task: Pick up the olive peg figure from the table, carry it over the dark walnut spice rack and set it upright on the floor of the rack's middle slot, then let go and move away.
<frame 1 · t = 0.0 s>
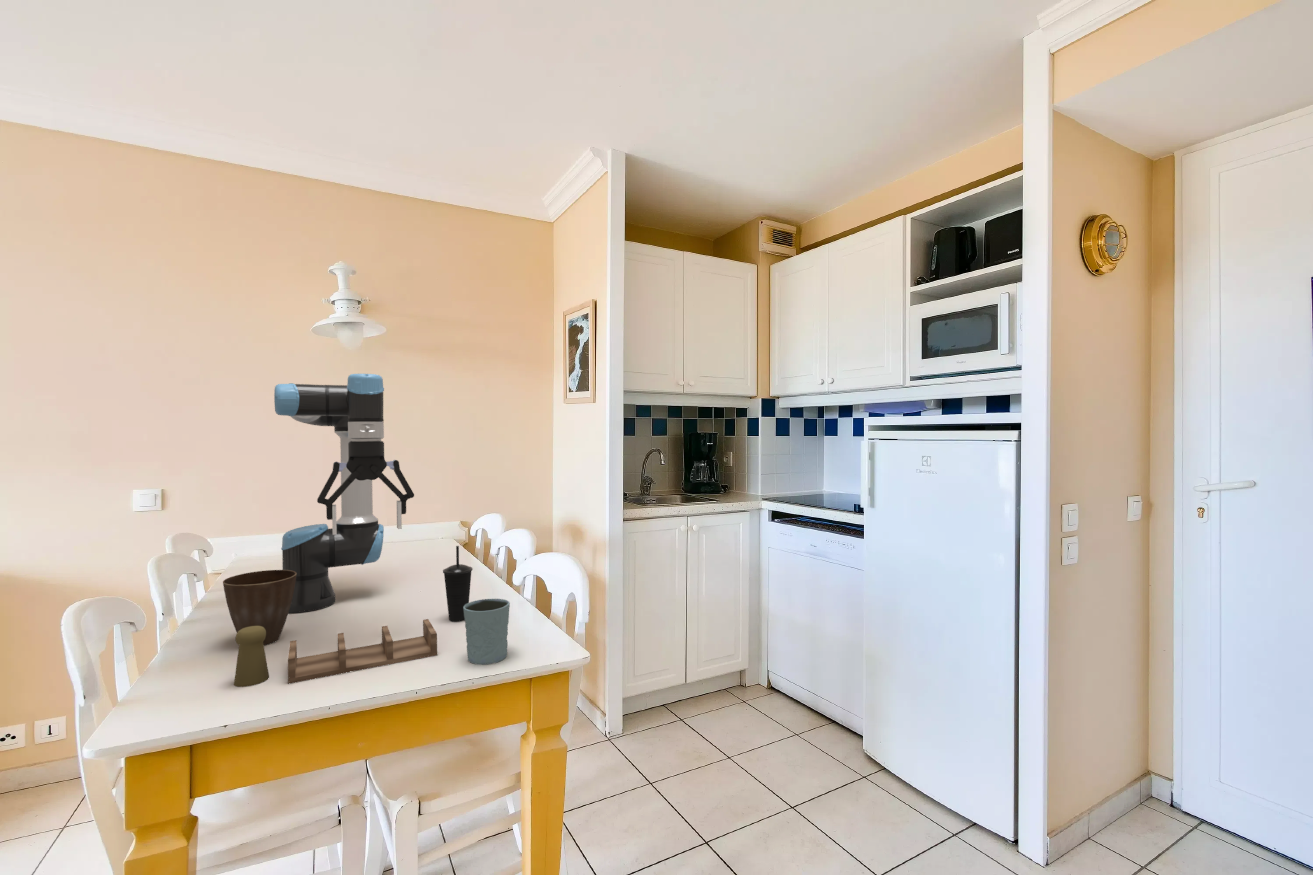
hand: (367, 531, 136), 28 cm above the table, tool pointing down, fingers open, 13 cm apart
drinking glass: (487, 657, 132), on the table
spice rack: (365, 659, 131), on the table
plant pot: (261, 642, 143), on the table
olive peg figure: (251, 681, 120), on the table
drinking cup: (458, 619, 158), on the table
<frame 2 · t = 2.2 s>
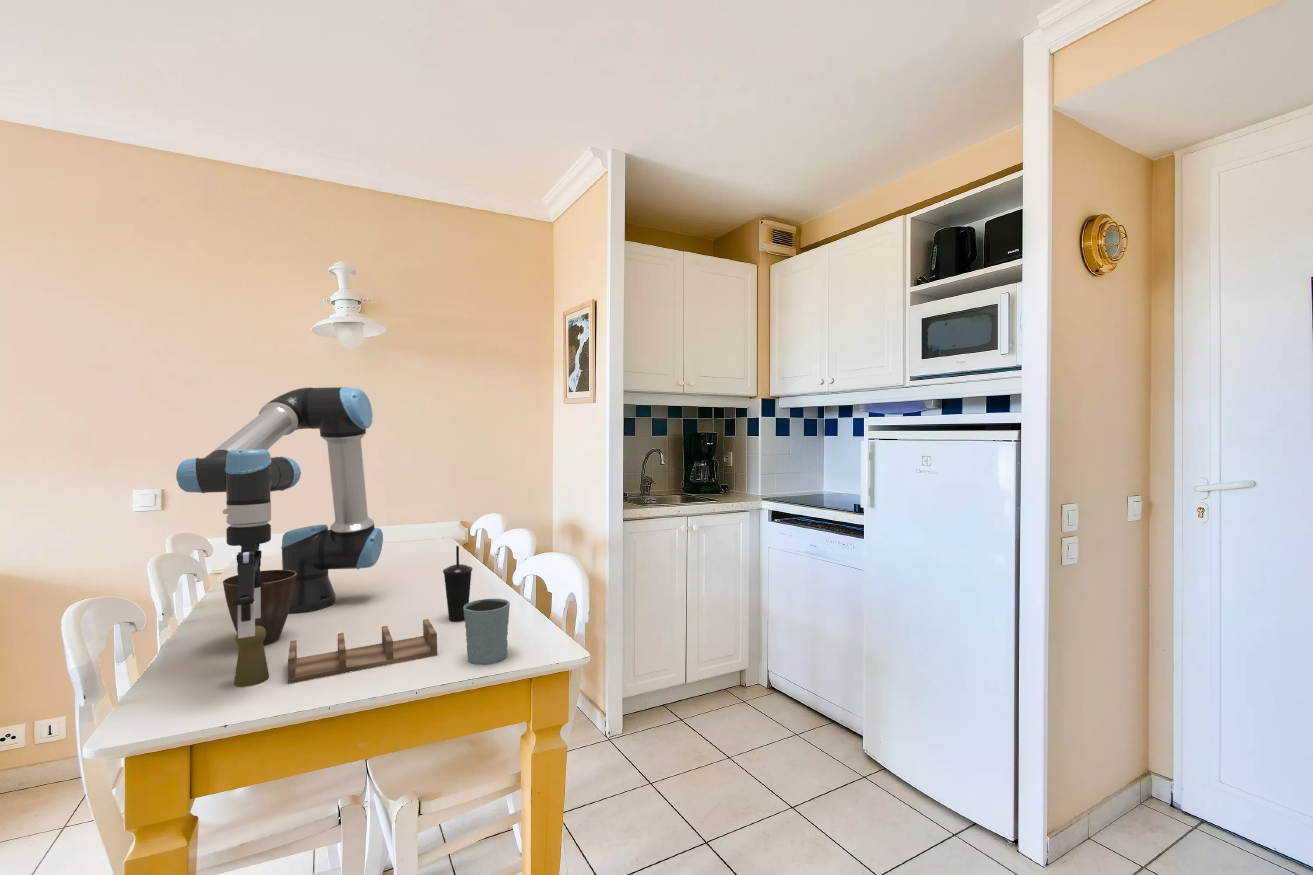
hand: (249, 627, 120), 11 cm above the table, tool pointing down, fingers open, 13 cm apart
nothing on the table moved.
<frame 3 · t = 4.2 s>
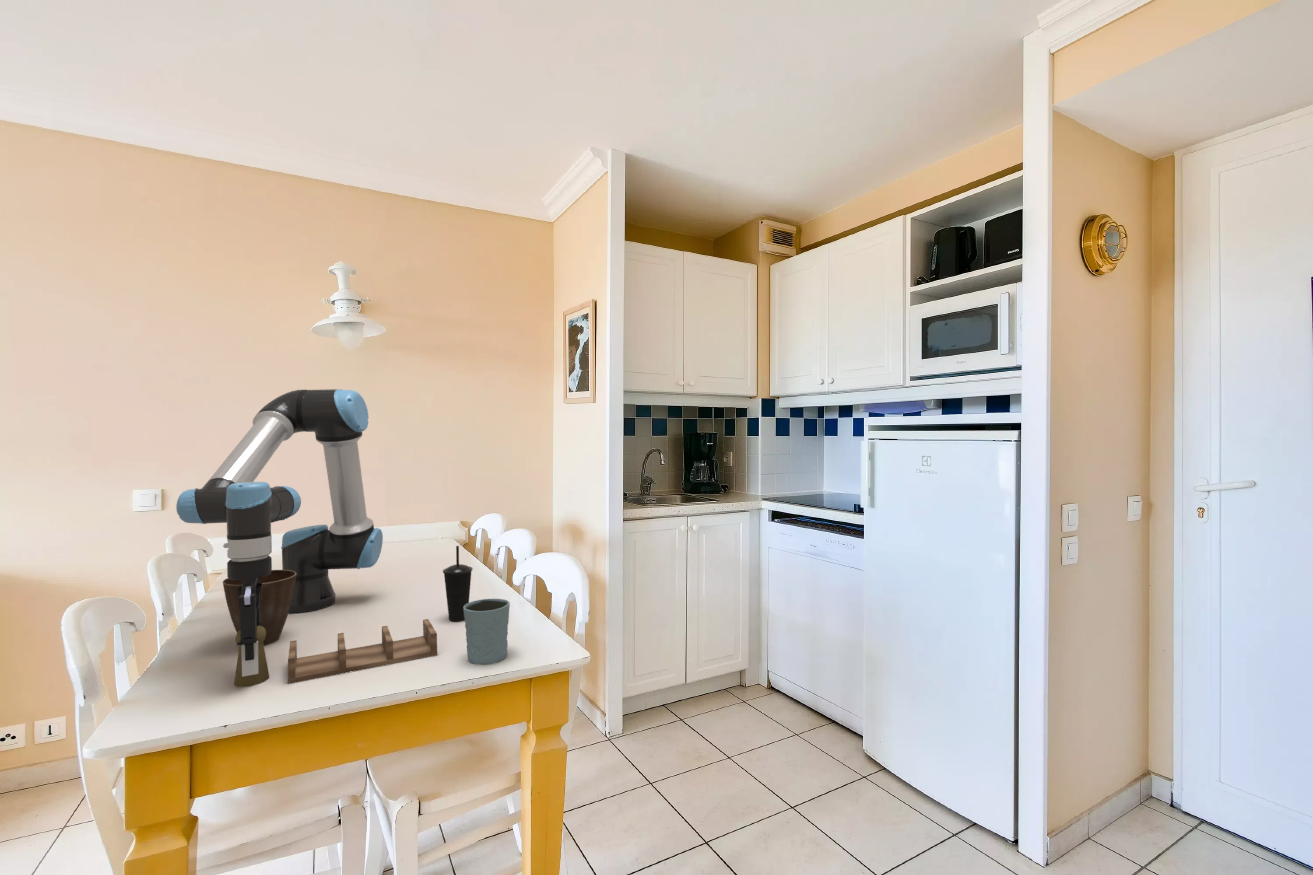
hand: (251, 669, 120), 2 cm above the table, tool pointing down, fingers closed on olive peg figure, 5 cm apart
olive peg figure: (251, 681, 120), on the table, touching gripper
everything else where it was.
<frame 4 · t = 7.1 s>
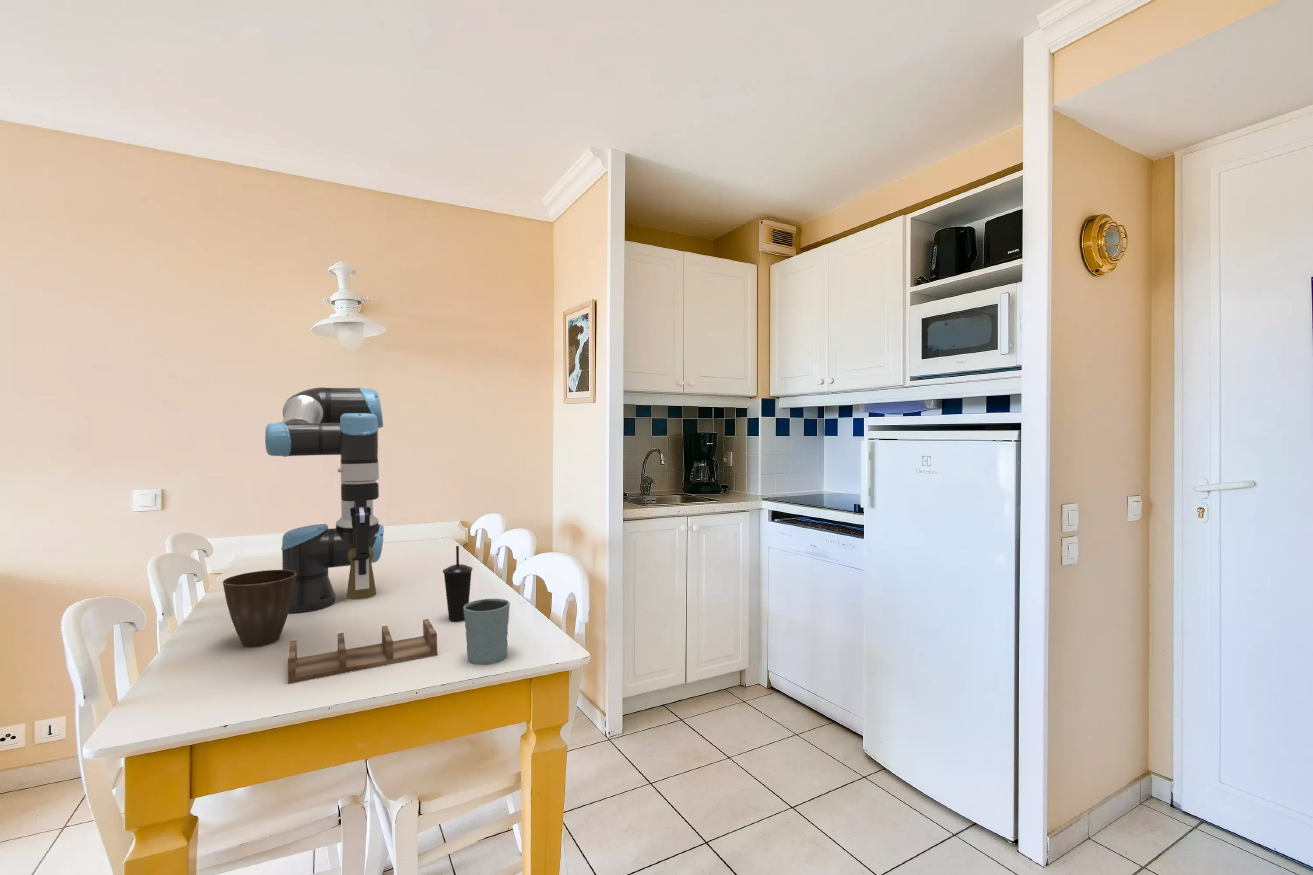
hand: (361, 585, 130), 17 cm above the table, tool pointing down, fingers closed on olive peg figure, 5 cm apart
olive peg figure: (361, 596, 130), point 14 cm above the table, touching gripper
everything else where it was.
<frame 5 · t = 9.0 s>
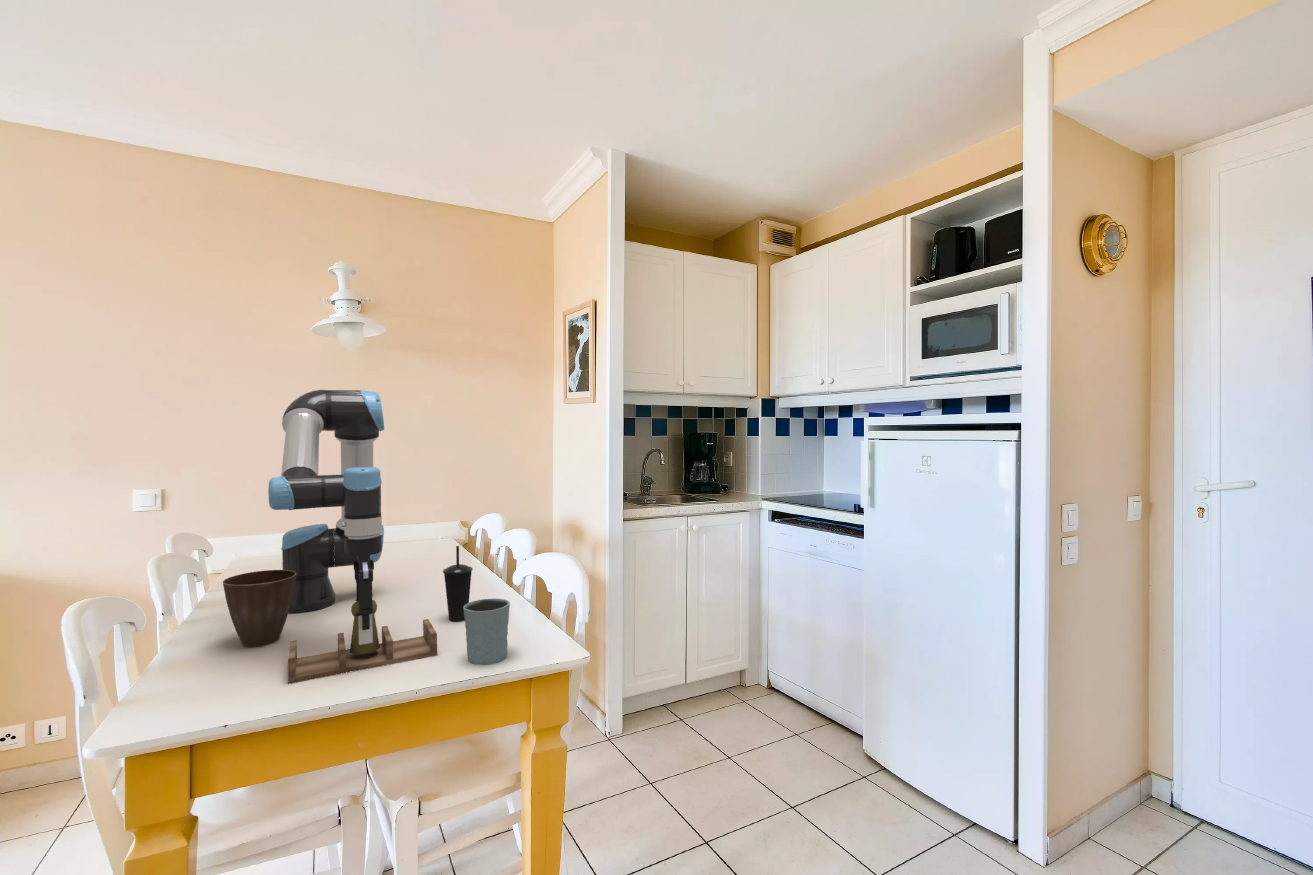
hand: (364, 639, 131), 5 cm above the table, tool pointing down, fingers closed on olive peg figure, 5 cm apart
olive peg figure: (364, 650, 131), point 2 cm above the table, touching gripper
everything else where it was.
when the fingers open (3 cm above the table, at t = 10.2 s): olive peg figure stays where it is, resting on spice rack.
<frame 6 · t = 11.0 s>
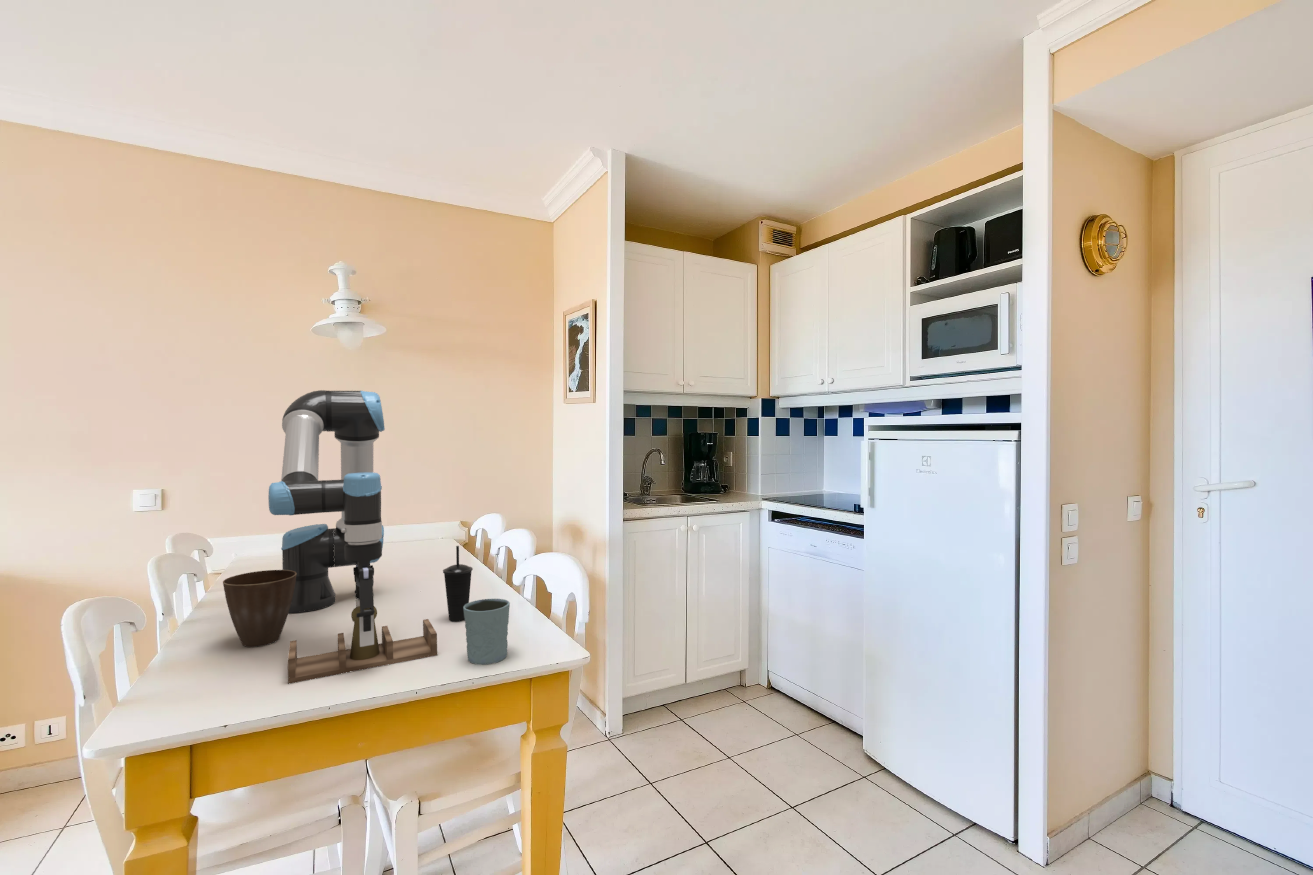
hand: (364, 635, 131), 5 cm above the table, tool pointing down, fingers open, 13 cm apart
olive peg figure: (364, 655, 131), point 1 cm above the table, touching spice rack
everything else where it was.
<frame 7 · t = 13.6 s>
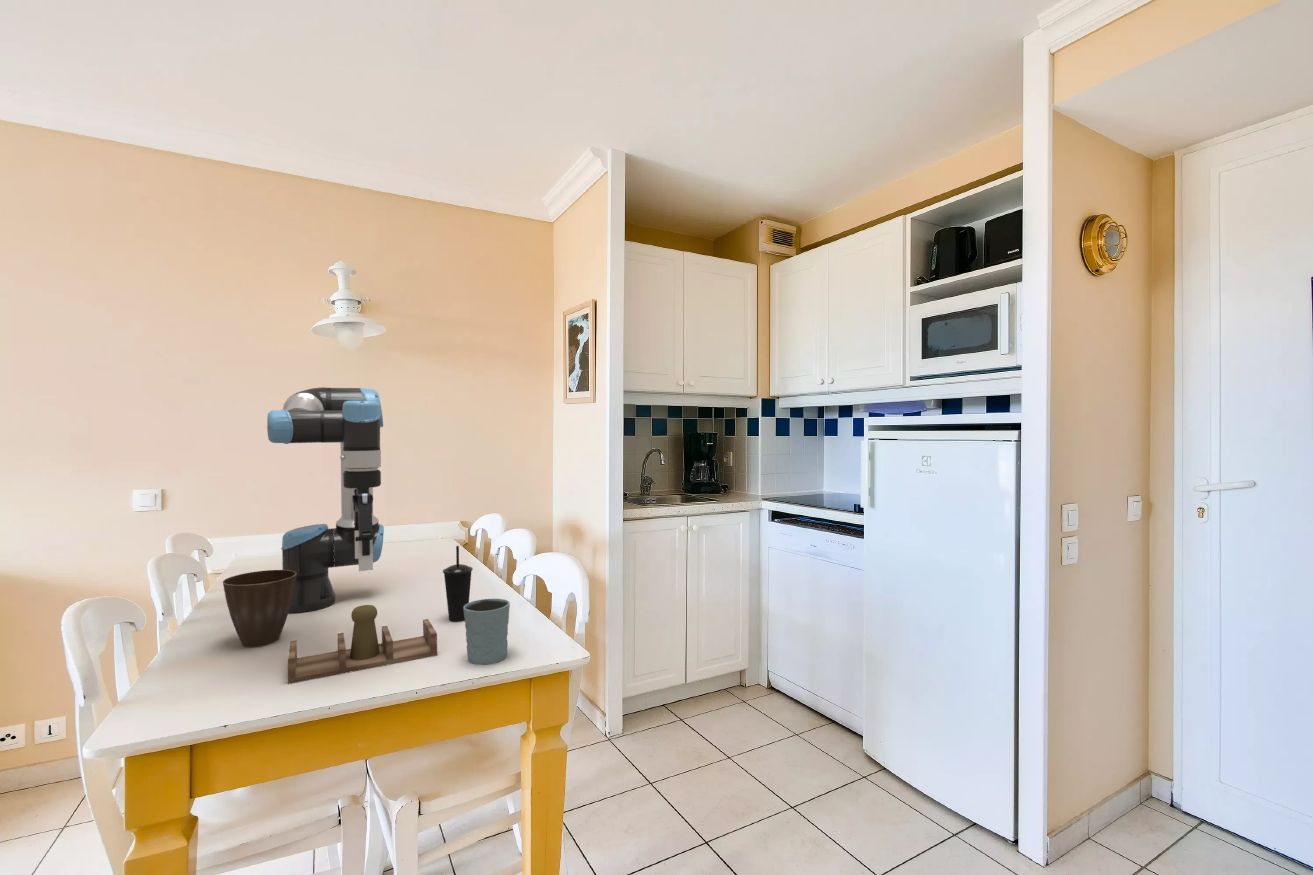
hand: (363, 563, 131), 22 cm above the table, tool pointing down, fingers open, 13 cm apart
nothing on the table moved.
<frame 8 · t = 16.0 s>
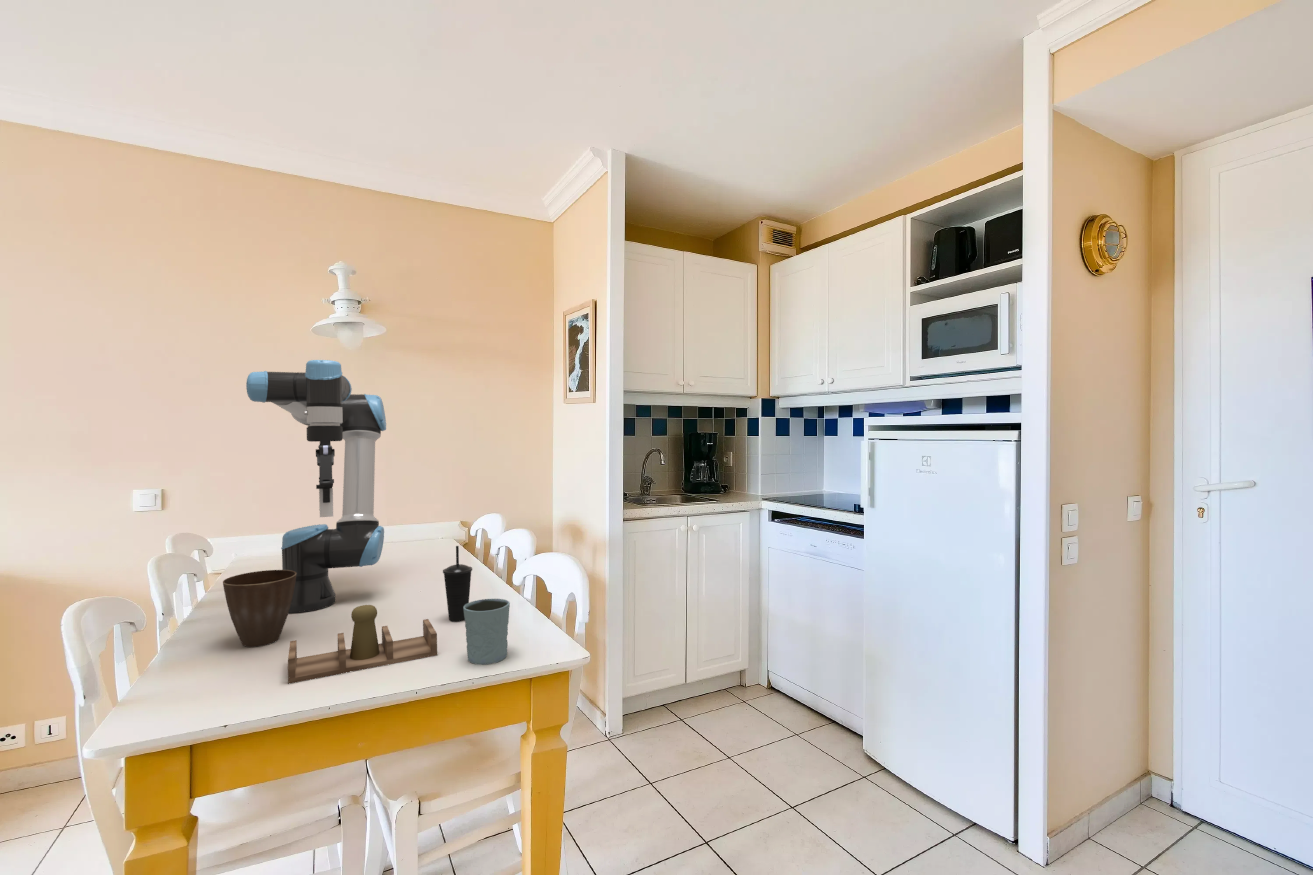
hand: (326, 513, 140), 32 cm above the table, tool pointing down, fingers open, 13 cm apart
nothing on the table moved.
at the end: olive peg figure 0.1 cm off-centre on the spice rack, point 0.8 cm above the spice rack's base; olive peg figure tilted 0°; the gripper is holding nothing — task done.
